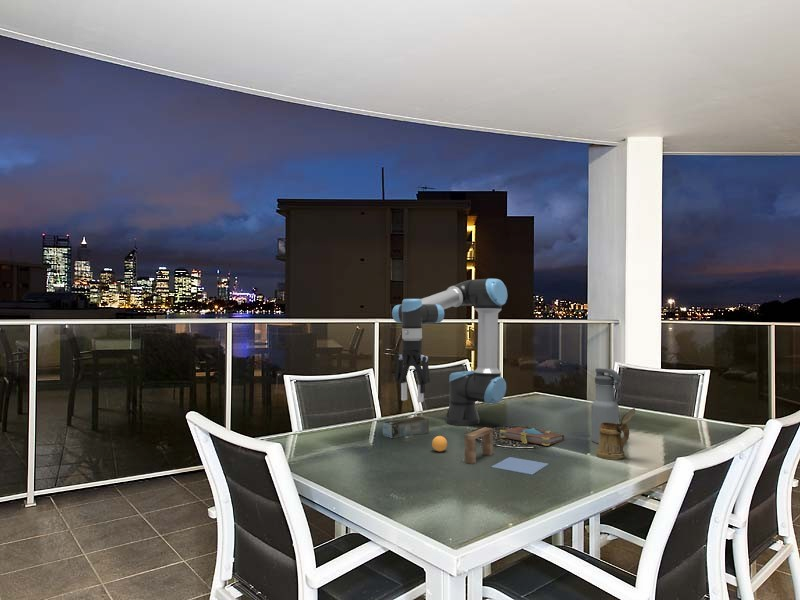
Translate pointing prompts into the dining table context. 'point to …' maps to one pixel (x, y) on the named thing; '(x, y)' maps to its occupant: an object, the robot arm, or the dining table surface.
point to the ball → (439, 443)
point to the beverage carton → (406, 427)
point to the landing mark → (520, 465)
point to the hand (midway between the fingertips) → (412, 400)
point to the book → (532, 436)
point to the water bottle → (605, 400)
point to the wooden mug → (614, 438)
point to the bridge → (471, 444)
